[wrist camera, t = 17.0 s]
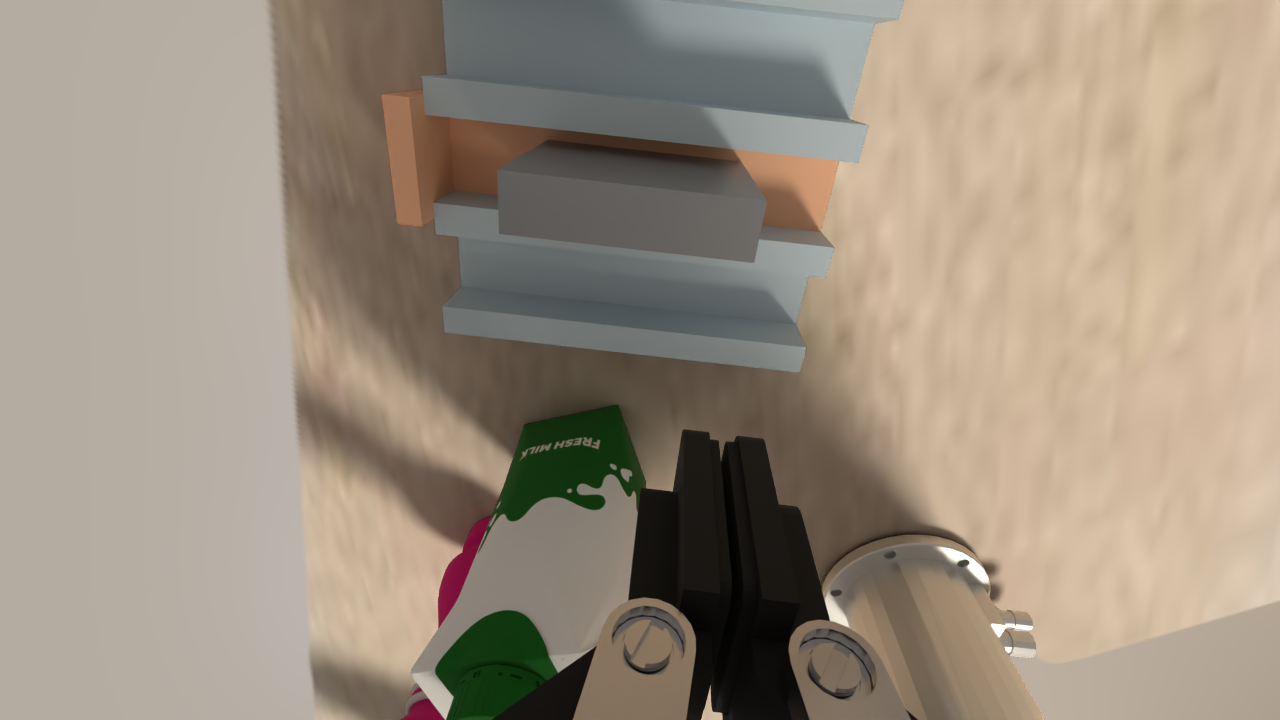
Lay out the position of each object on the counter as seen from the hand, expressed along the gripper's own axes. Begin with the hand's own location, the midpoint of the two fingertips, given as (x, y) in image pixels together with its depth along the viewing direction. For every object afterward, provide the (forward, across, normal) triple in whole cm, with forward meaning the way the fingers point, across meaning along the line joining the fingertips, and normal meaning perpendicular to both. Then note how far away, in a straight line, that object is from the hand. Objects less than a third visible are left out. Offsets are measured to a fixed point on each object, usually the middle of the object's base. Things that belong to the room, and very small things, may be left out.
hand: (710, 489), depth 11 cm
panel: (+21, +3, -3) cm, 21 cm away
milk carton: (+22, +6, +17) cm, 28 cm away
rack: (+22, +3, -3) cm, 22 cm away
